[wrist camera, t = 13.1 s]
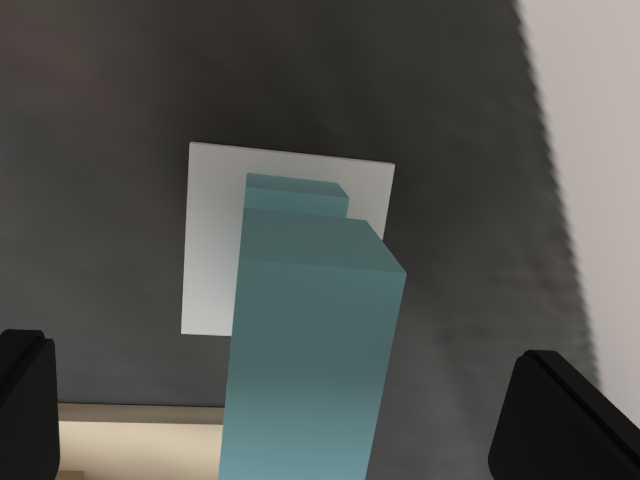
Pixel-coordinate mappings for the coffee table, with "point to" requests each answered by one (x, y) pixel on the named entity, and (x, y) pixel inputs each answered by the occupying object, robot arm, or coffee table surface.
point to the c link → (306, 335)
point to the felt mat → (227, 213)
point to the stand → (139, 442)
